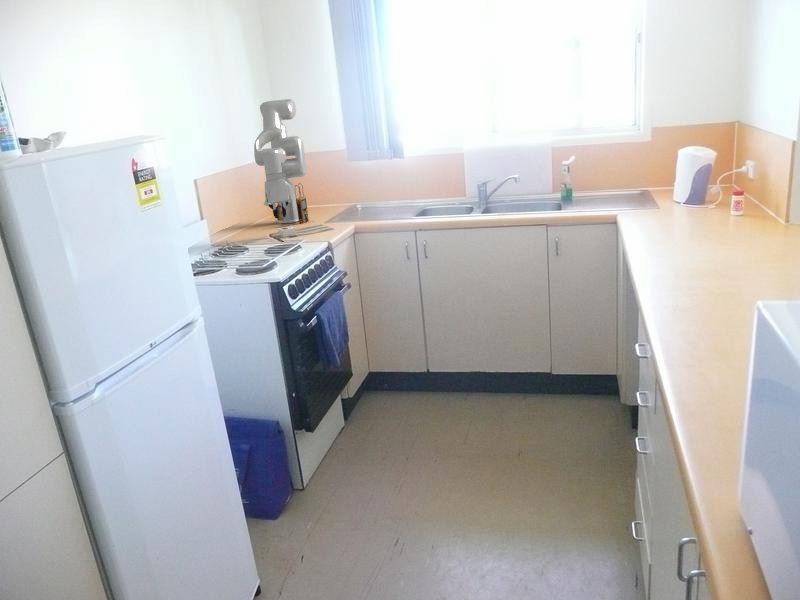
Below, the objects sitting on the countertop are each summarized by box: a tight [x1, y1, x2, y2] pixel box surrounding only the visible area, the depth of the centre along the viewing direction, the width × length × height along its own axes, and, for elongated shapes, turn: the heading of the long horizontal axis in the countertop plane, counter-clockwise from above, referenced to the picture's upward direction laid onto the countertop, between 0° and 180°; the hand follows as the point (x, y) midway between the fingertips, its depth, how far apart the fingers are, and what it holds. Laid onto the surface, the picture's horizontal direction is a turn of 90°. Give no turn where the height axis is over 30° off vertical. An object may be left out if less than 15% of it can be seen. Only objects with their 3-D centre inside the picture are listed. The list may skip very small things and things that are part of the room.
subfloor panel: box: [268, 224, 336, 243], centre depth 306 cm, size 18×26×1 cm
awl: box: [276, 202, 284, 221], centre depth 305 cm, size 3×3×11 cm
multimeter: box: [294, 182, 310, 225], centre depth 328 cm, size 15×10×20 cm
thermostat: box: [277, 226, 296, 237], centre depth 301 cm, size 6×6×3 cm
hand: (280, 217), depth 306 cm, fingers closed on awl, 3 cm apart
